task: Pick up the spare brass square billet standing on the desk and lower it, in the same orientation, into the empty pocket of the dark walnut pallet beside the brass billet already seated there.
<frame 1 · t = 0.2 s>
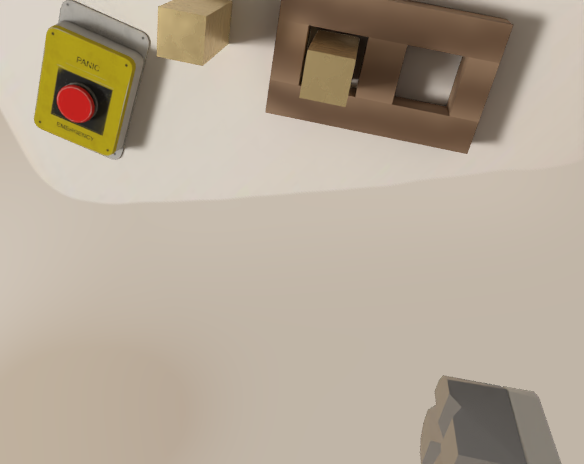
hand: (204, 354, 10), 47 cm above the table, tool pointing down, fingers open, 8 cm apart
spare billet: (210, 18, 53), on the table
emergency button: (96, 83, 58), on the table
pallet: (380, 64, 52), on the table
seated billet: (334, 54, 53), resting in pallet
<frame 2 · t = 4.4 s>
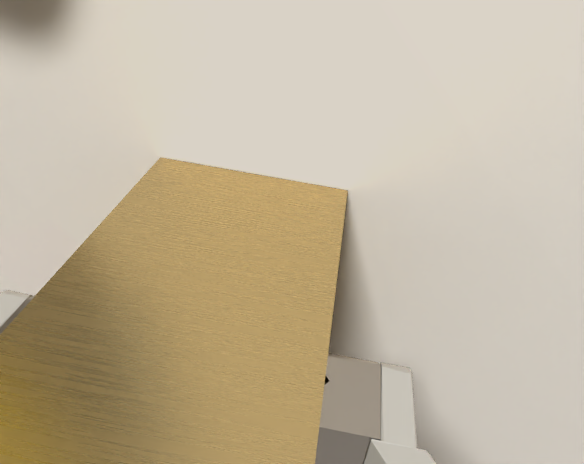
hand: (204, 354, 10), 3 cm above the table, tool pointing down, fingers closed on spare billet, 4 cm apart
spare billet: (245, 253, 12), on the table, touching gripper
when the fingers open (5 cm above the table, at t = 11.0 s): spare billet drops 2 cm, resting in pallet.
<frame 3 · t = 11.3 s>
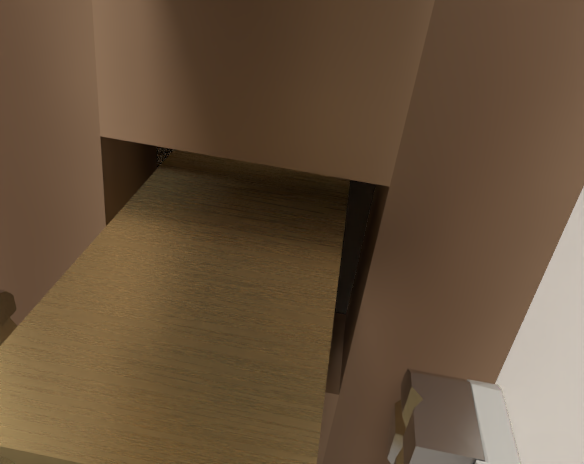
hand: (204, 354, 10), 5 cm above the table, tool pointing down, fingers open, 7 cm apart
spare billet: (263, 216, 14), resting in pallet
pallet: (279, 33, 12), on the table
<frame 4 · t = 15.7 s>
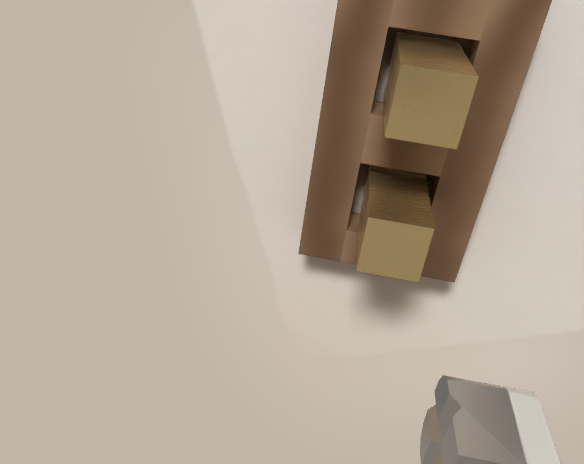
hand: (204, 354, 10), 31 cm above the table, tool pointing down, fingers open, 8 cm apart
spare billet: (391, 187, 41), resting in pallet
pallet: (404, 130, 39), on the table
seated billet: (419, 67, 37), resting in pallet
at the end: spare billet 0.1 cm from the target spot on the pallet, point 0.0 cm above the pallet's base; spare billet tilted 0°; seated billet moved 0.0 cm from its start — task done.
